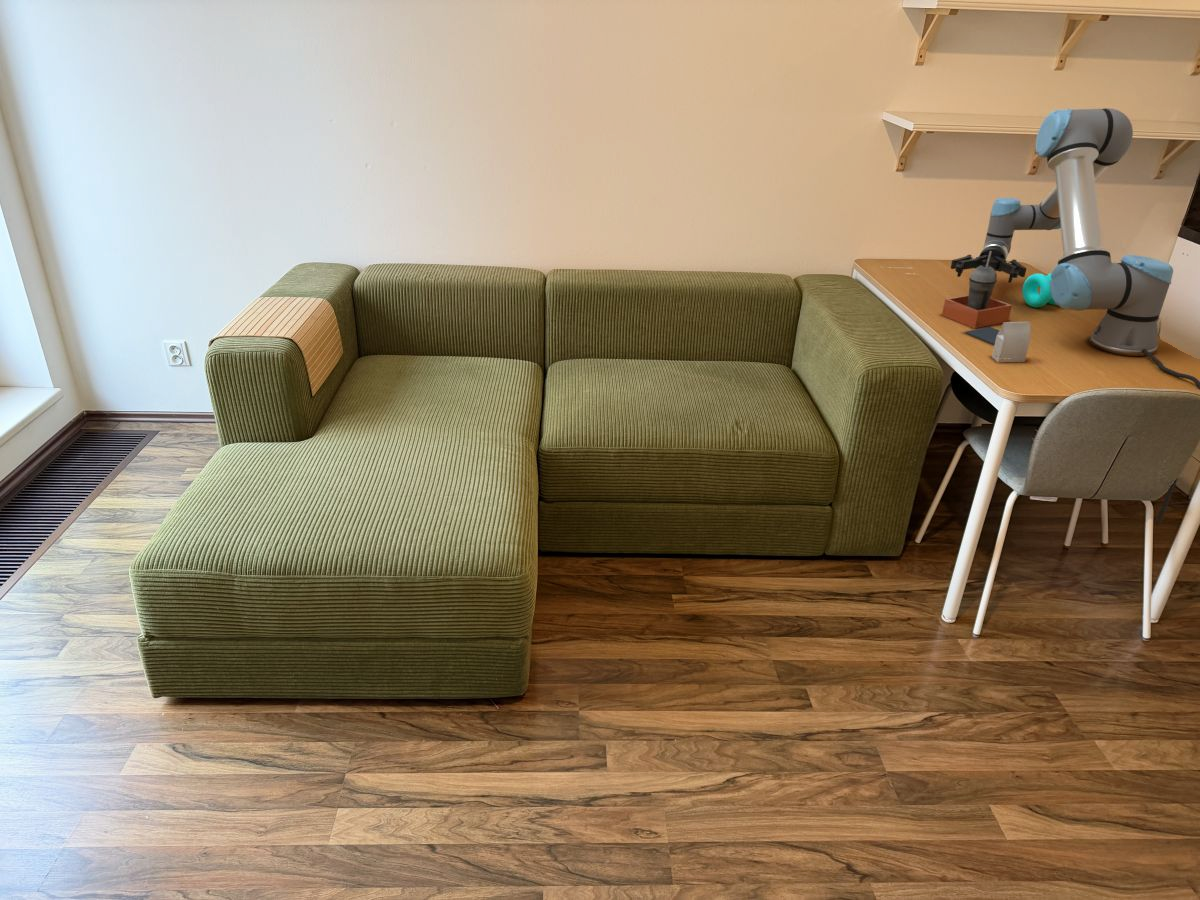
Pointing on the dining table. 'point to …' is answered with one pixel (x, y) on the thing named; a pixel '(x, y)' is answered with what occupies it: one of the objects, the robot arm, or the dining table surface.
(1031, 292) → the donuts
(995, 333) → the pad
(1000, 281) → the dining table surface
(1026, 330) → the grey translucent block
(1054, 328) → the dining table surface
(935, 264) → the dining table surface
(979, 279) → the beverage cup
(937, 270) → the dining table surface
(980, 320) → the open reddish-brown box
